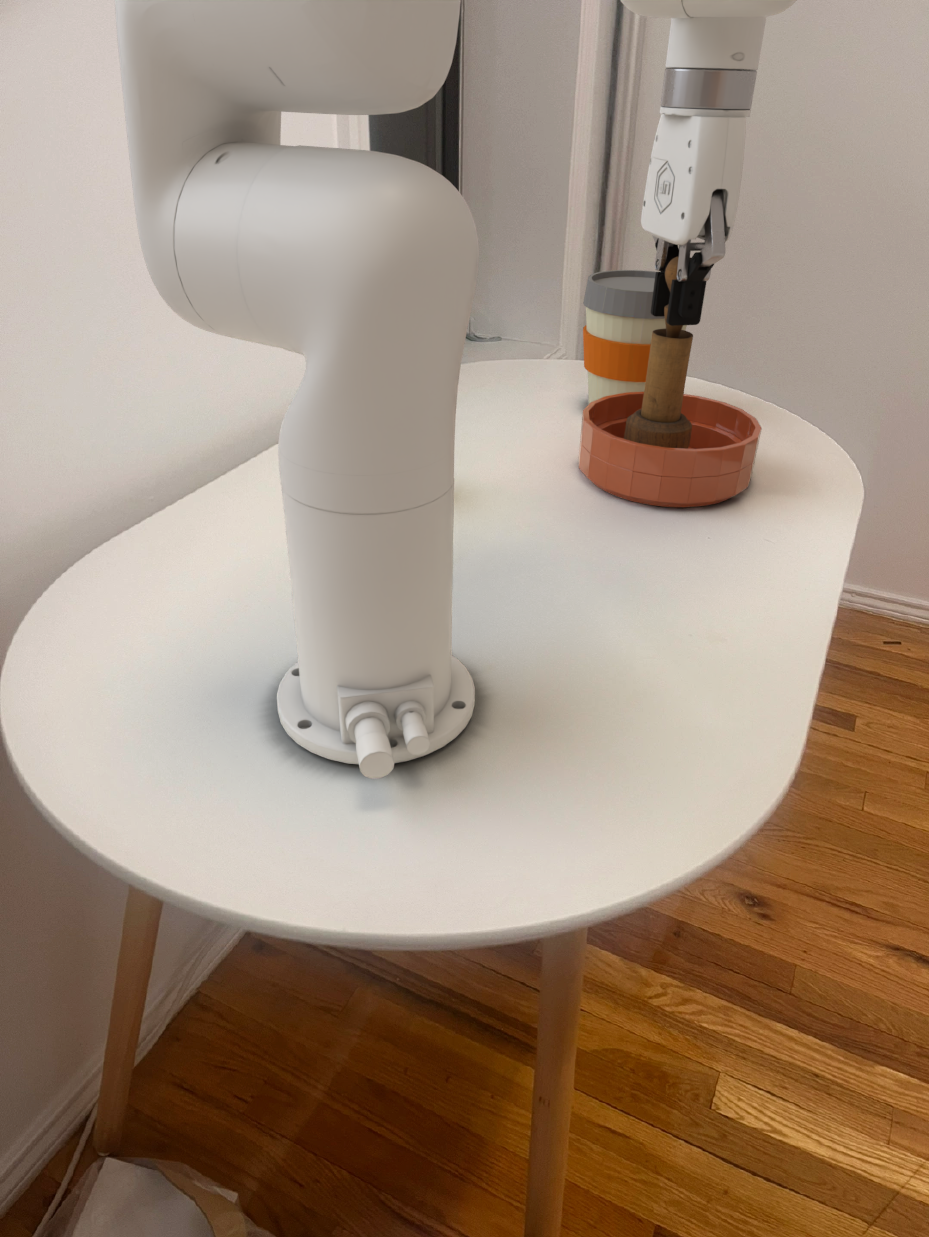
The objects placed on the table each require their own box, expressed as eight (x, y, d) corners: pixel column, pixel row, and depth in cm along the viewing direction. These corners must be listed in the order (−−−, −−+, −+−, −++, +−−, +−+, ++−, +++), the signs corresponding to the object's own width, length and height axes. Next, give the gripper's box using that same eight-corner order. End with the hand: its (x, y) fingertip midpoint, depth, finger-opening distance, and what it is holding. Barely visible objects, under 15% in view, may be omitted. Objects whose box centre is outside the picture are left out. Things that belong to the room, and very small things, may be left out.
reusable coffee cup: (679, 399, 111) (699, 274, 103) (675, 432, 101) (696, 296, 93) (581, 389, 114) (592, 266, 106) (566, 420, 104) (578, 287, 96)
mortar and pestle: (685, 434, 93) (715, 252, 84) (692, 457, 88) (726, 265, 78) (622, 430, 94) (645, 249, 84) (625, 453, 88) (650, 262, 78)
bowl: (781, 503, 85) (795, 444, 82) (613, 517, 81) (621, 456, 78) (701, 440, 99) (710, 387, 96) (556, 450, 96) (560, 395, 92)
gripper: (628, 92, 80) (606, 302, 90) (710, 98, 67) (674, 343, 76) (704, 94, 82) (674, 300, 91) (799, 100, 68) (752, 340, 78)
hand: (674, 318), depth 84 cm, fingers closed on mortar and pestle, 2 cm apart
